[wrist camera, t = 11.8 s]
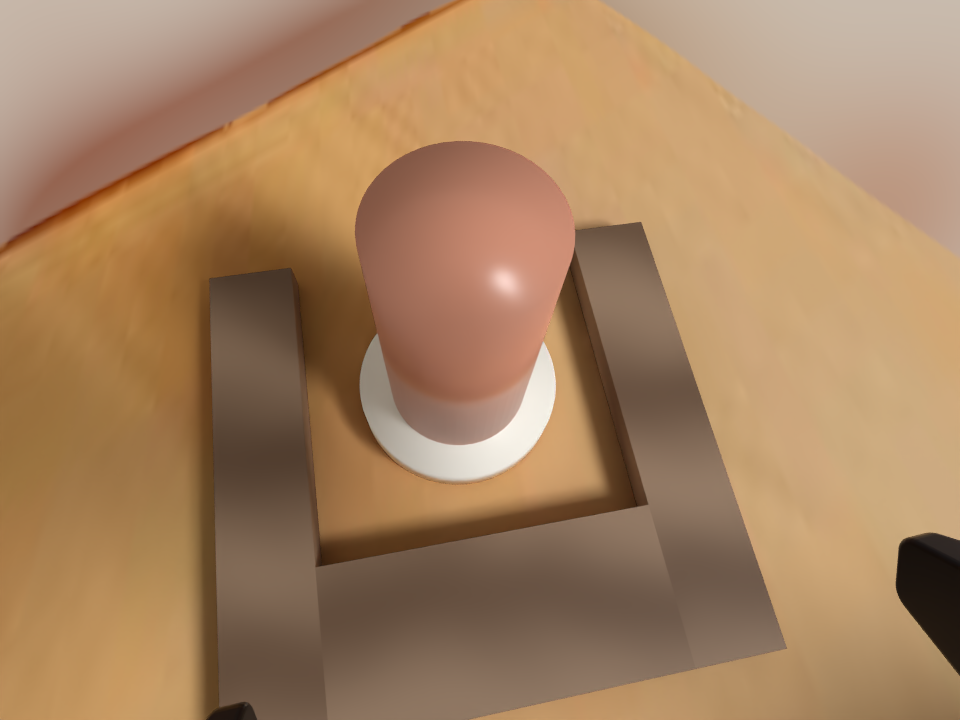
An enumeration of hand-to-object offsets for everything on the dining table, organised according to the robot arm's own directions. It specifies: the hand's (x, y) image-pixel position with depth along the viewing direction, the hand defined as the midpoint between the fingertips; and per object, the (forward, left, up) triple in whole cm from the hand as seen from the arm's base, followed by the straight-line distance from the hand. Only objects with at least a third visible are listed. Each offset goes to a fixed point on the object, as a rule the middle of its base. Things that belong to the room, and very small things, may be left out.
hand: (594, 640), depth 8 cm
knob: (+3, +8, -13) cm, 15 cm away
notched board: (+2, +5, -13) cm, 14 cm away
